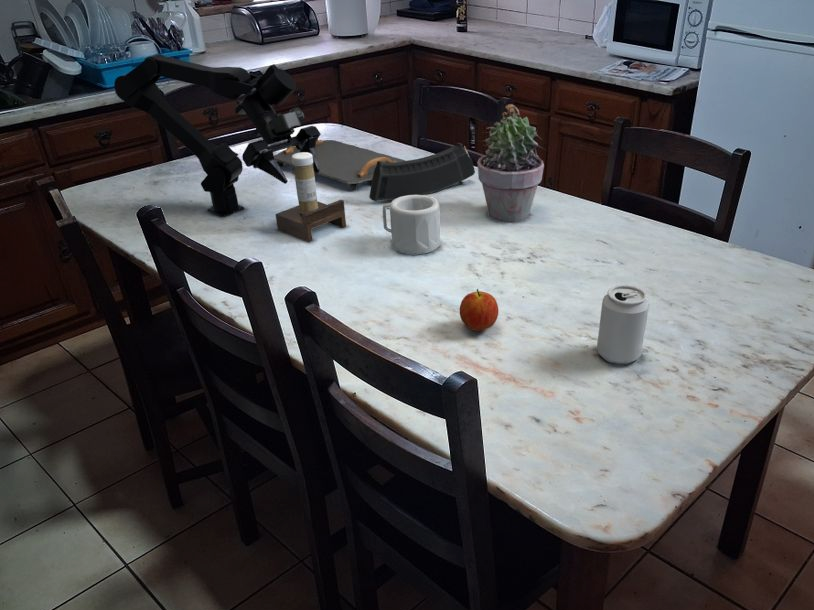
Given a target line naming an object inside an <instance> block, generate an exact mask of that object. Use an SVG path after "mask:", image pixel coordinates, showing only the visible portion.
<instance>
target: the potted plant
mask: <svg viewBox="0 0 814 610" xmlns="http://www.w3.org/2000/svg"><path fill="white" fill-rule="evenodd" d="M504 108H505V110H506V111H504V112H502V113H501V115H502V119H500V121H499V122H498V121H495V123H494V124H493V126H490V127H487V129H488V130H489V131H488V132H487V131H485V132H483V133H486V134H489V136H488V137H487V138H485V139H484V140H483V142H485V143H486V144H482V146H485V147H487V149H486V150H484V151H485V155H482V156H481V157H479V158H478V160H477V174H478V175H477V176H478V180H479V182H480V183H481V186H482V190H483V194H484V198H485V204H486V209H487V214H488V217H489V218H490V219H491V220H492V221H497V222H499V223H503V224H505V223H506V224H514V223H520V222H521V223H522V222H523V221H525V220H526V219H528V217H529V215H530V213H531V209H532V206H533V202H534V199H535V196H536V193H537V189H538V185H539V184H540V183H541V182H542V180H543V174H544V168H545V163H544V160H542V159H541V158H540V157H539V155H538V154H537V153H538V152H537V149H536V148H537V147H538V148H540V149H543V150H544V151H545V152H546V153H548V149H546V148H543V147H542V146H540V145H539V143H538V142H536V141H535V140H534V139H535V137H538V138H539V139H541V137H540V136H539V135H538V134H537V133H538V131H539V130H537V128H536V126H532V125H530V122H529V118H528V117H527V116H525V117H524V118H522V117H521V113H520V111H519V109H518V107H516V106H515V105H514V104H513V103H508V104H506V105H505V107H504ZM536 130H537V131H536ZM478 142H481V140H480V141H478ZM534 151H535V152H534ZM481 152H483V150H482V151H480V152H478V154H479V153H481Z"/></svg>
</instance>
